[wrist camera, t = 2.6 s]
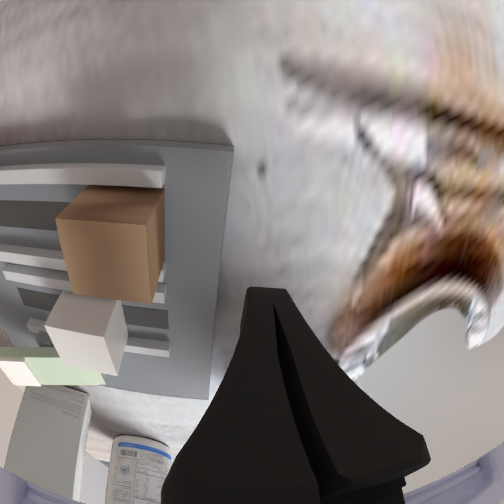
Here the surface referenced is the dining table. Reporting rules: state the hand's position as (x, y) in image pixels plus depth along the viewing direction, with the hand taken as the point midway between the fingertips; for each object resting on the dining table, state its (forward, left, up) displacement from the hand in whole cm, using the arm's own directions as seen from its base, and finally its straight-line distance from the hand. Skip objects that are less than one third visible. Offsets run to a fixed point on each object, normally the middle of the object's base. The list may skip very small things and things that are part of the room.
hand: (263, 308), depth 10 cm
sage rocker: (+14, +12, -3) cm, 19 cm away
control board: (+11, +7, -7) cm, 15 cm away
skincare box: (+19, +25, -7) cm, 32 cm away
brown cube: (+6, 0, -5) cm, 8 cm away
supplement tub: (+11, +40, -7) cm, 42 cm away
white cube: (+9, +7, -5) cm, 13 cm away
